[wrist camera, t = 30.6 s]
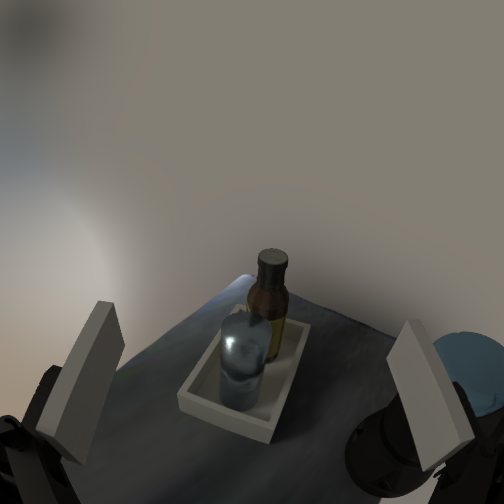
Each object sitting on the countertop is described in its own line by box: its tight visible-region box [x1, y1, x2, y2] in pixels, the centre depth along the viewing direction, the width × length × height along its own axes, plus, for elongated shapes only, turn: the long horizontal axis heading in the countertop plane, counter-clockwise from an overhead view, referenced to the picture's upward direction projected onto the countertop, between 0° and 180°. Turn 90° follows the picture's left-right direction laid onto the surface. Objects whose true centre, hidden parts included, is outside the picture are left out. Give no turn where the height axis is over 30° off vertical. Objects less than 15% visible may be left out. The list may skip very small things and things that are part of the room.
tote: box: [177, 303, 311, 444], centre depth 46 cm, size 22×14×5 cm, turn 160°
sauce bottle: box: [246, 248, 289, 363], centre depth 46 cm, size 6×6×20 cm
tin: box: [219, 312, 272, 411], centre depth 39 cm, size 6×6×15 cm
